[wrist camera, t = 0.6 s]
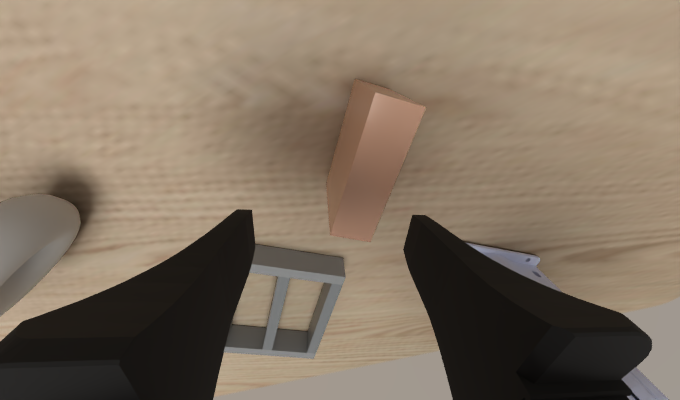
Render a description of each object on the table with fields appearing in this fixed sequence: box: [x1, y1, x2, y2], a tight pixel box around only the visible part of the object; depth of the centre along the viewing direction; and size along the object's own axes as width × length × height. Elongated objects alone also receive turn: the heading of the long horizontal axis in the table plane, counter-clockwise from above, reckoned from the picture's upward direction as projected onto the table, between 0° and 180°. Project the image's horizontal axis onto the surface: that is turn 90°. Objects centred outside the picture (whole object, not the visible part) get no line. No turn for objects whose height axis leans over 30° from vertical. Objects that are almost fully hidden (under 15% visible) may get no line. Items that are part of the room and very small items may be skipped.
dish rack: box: [224, 244, 345, 359], centre depth 26 cm, size 11×13×2 cm
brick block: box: [326, 79, 426, 242], centre depth 16 cm, size 2×8×7 cm, turn 164°
